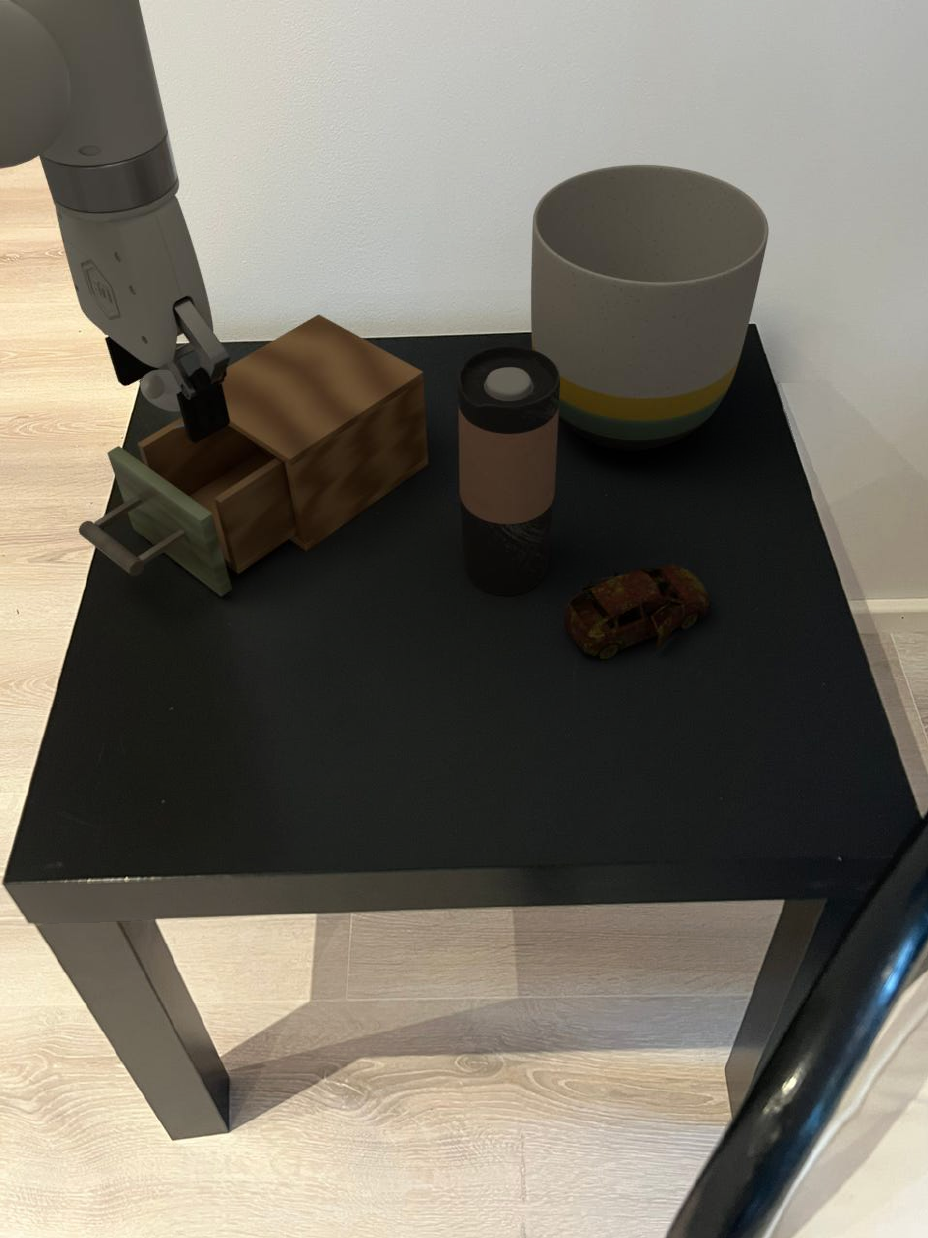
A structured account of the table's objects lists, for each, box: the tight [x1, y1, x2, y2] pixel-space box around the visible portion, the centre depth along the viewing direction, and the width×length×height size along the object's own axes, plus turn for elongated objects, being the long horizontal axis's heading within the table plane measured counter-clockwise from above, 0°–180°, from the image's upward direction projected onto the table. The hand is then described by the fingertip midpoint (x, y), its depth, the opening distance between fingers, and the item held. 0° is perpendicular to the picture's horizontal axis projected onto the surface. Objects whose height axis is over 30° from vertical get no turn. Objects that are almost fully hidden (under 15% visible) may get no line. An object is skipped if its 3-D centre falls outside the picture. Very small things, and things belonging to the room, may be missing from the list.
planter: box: [530, 164, 770, 451], centre depth 99 cm, size 20×20×21 cm
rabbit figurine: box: [138, 369, 184, 429], centre depth 78 cm, size 6×4×8 cm
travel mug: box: [457, 345, 560, 597], centre depth 87 cm, size 8×8×20 cm
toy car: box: [563, 564, 710, 660], centre depth 88 cm, size 12×7×5 cm, turn 115°
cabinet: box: [222, 314, 429, 552], centre depth 99 cm, size 16×14×11 cm
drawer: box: [78, 416, 298, 597], centre depth 93 cm, size 20×12×9 cm, turn 137°
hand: (173, 403), depth 78 cm, fingers closed on rabbit figurine, 8 cm apart
